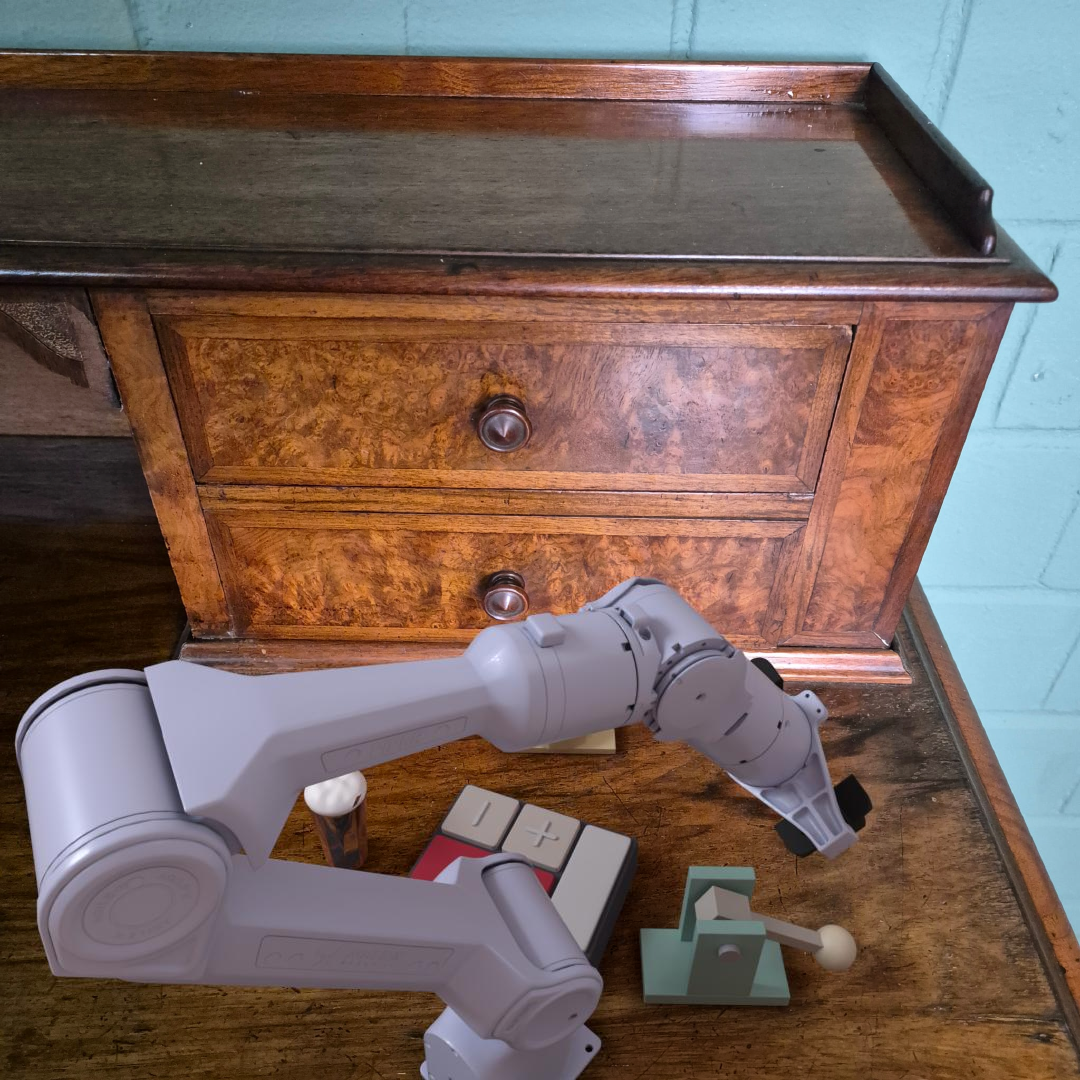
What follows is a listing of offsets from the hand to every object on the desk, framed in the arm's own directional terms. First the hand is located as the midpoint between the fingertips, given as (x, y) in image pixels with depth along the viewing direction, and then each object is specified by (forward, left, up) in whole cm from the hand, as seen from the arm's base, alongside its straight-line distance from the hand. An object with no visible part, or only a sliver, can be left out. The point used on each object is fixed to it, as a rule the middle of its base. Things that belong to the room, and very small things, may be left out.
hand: (817, 781), depth 63 cm
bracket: (-8, +1, -15) cm, 17 cm away
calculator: (-12, +16, -15) cm, 25 cm away
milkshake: (-19, +28, -15) cm, 37 cm away
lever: (-6, -1, -11) cm, 12 cm away
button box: (+2, +24, -15) cm, 29 cm away
